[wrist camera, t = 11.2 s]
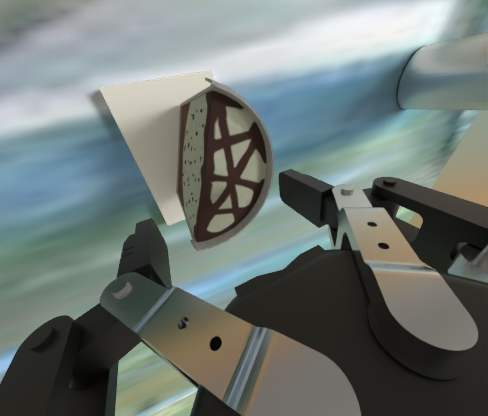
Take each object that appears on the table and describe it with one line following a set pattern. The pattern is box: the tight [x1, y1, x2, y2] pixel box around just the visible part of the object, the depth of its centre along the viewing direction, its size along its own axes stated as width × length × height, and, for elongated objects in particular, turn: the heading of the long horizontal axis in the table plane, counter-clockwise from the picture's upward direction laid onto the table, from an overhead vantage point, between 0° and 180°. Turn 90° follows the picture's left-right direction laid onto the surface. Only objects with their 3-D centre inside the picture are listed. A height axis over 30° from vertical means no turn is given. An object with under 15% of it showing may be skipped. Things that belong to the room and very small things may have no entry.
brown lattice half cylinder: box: [176, 77, 274, 251], centre depth 17 cm, size 12×6×10 cm, turn 168°
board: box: [99, 70, 213, 226], centre depth 21 cm, size 10×15×1 cm, turn 10°
